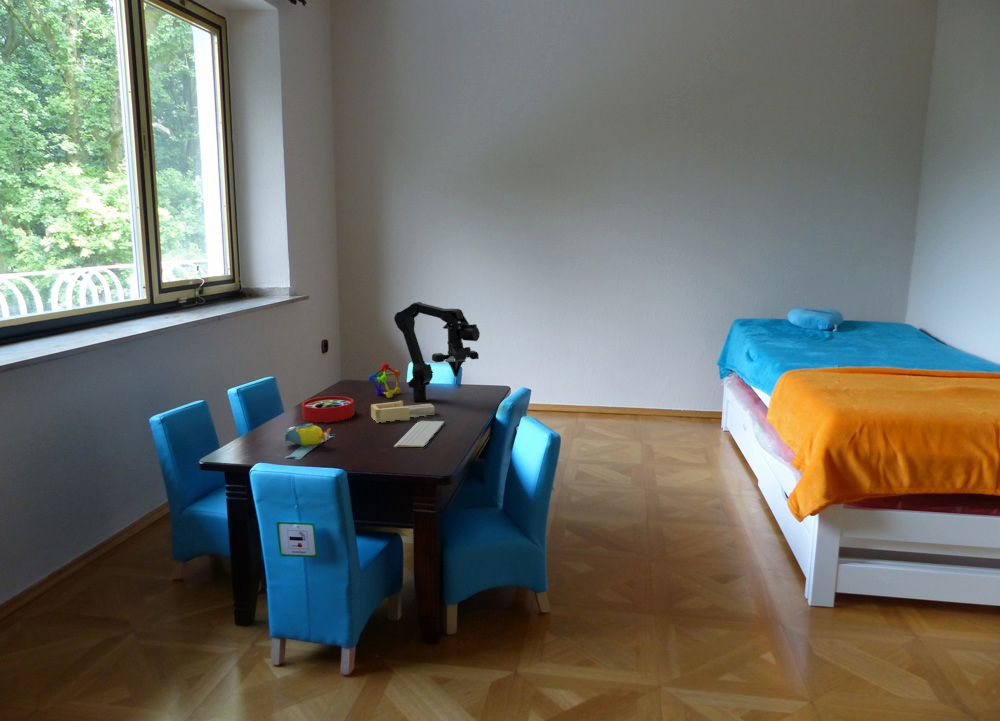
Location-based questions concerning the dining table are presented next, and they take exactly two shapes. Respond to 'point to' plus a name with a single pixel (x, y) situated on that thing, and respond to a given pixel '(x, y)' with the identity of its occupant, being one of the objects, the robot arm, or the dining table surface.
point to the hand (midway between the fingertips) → (455, 376)
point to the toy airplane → (305, 438)
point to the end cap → (390, 412)
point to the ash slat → (420, 410)
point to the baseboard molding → (420, 434)
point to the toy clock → (328, 409)
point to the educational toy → (383, 378)
